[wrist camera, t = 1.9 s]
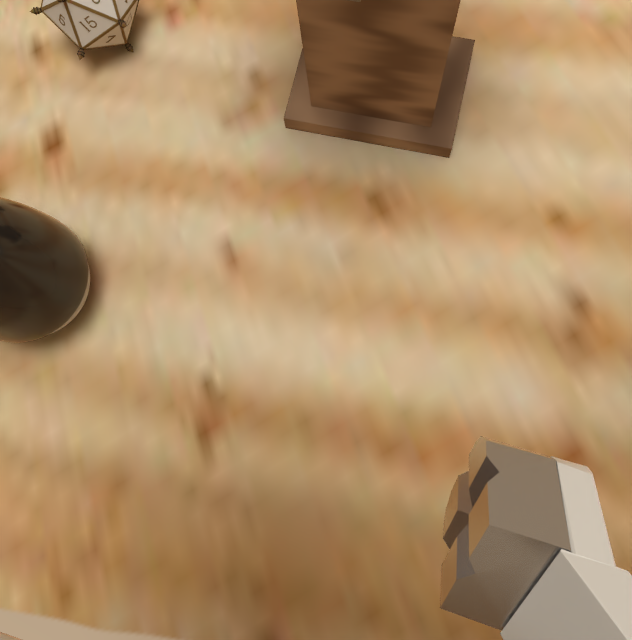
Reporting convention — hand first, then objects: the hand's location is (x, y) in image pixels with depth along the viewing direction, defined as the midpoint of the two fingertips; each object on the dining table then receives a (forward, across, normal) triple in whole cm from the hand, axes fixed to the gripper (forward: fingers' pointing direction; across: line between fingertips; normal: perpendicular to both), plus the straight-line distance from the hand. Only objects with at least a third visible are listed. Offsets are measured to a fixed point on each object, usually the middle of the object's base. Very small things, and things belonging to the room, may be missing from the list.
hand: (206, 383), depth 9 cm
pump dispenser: (+31, +24, +23) cm, 45 cm away
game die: (+47, +27, +6) cm, 55 cm away
